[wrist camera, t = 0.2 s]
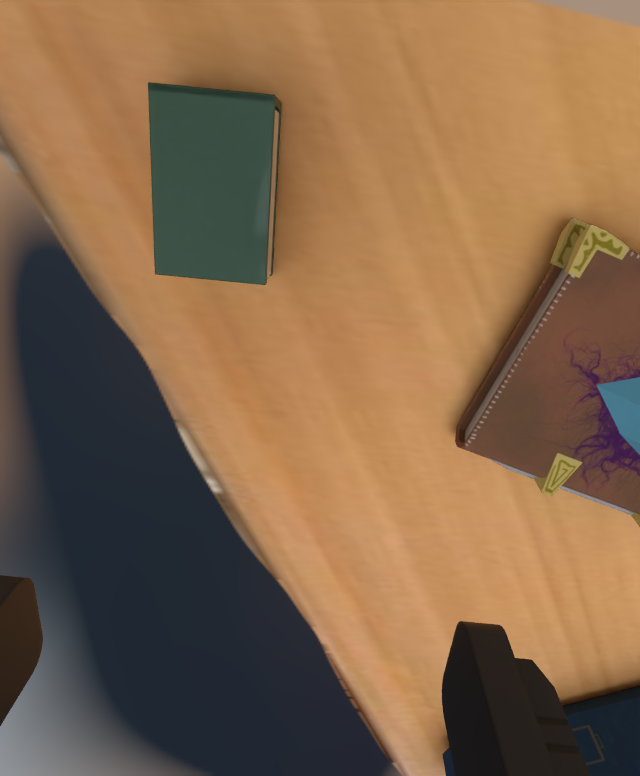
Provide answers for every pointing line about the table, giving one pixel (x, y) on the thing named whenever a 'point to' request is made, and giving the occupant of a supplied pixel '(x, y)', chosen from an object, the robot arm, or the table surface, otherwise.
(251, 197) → the notebook
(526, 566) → the table surface
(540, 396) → the book
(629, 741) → the radio
